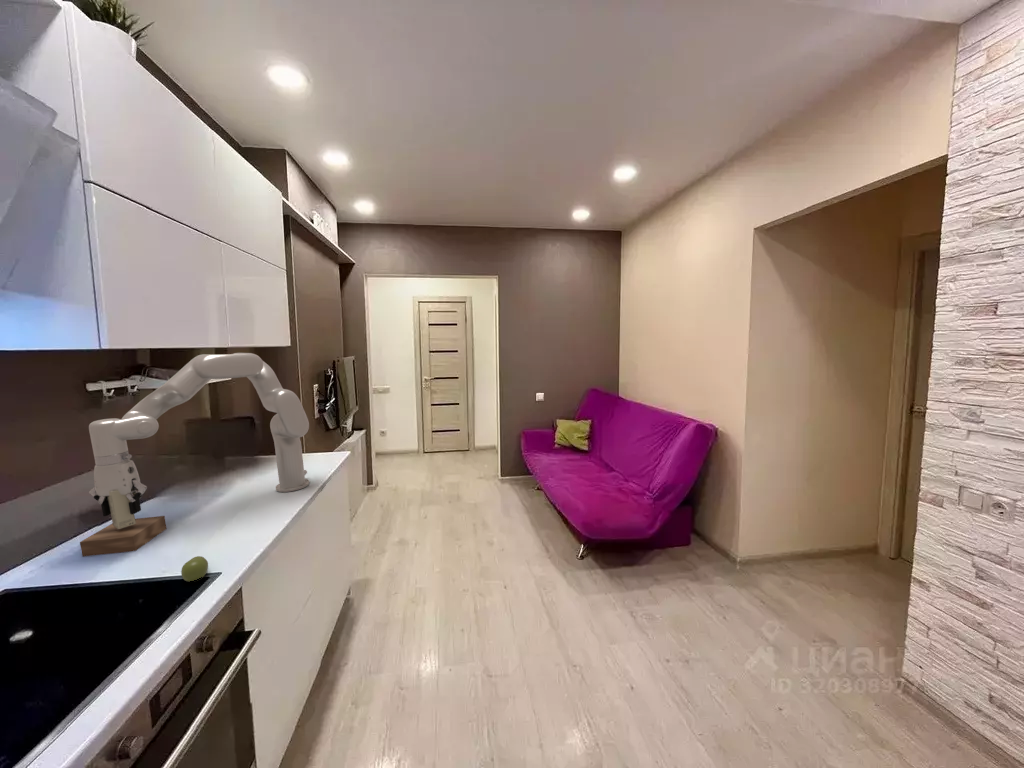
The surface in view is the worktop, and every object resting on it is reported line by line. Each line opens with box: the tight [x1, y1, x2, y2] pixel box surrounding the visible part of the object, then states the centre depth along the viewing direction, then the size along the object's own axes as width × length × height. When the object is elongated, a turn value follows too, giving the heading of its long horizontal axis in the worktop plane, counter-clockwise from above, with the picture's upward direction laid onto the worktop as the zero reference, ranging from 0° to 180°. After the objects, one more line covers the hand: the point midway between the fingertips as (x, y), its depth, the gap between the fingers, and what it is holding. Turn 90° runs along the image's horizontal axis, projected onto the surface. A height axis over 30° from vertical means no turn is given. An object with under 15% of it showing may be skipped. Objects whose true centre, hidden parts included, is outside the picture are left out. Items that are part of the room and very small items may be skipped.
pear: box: [180, 555, 209, 583], centre depth 109 cm, size 6×5×10 cm
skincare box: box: [107, 490, 136, 529], centre depth 128 cm, size 6×4×12 cm
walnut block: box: [79, 515, 168, 557], centre depth 129 cm, size 14×14×5 cm
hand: (122, 513), depth 128 cm, fingers closed on skincare box, 7 cm apart
